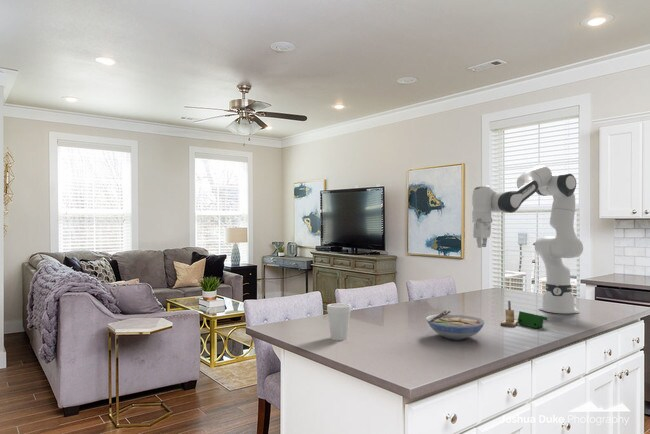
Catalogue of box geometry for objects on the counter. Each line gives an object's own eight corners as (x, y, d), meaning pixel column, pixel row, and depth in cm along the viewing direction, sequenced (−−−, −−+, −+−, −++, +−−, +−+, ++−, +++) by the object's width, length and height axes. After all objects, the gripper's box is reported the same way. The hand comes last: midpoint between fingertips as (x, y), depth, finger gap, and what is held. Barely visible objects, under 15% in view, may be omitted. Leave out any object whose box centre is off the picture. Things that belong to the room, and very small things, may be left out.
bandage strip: (506, 320, 217) (505, 317, 217) (519, 321, 214) (519, 319, 214) (500, 325, 206) (500, 322, 206) (514, 327, 203) (514, 324, 203)
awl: (506, 320, 212) (506, 300, 213) (515, 320, 210) (514, 300, 210) (504, 321, 209) (504, 301, 210) (513, 321, 207) (512, 301, 208)
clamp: (541, 337, 203) (552, 320, 200) (531, 335, 201) (541, 317, 198) (524, 321, 213) (533, 305, 211) (514, 319, 211) (524, 302, 209)
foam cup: (322, 337, 184) (322, 304, 185) (342, 334, 189) (342, 302, 189) (334, 342, 176) (334, 308, 176) (355, 339, 181) (355, 306, 181)
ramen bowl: (476, 349, 167) (476, 326, 167) (416, 340, 179) (416, 319, 179) (492, 335, 188) (491, 315, 188) (437, 328, 200) (437, 309, 200)
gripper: (483, 218, 214) (483, 248, 214) (492, 219, 232) (493, 246, 231) (469, 218, 217) (469, 248, 217) (480, 219, 235) (480, 246, 235)
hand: (482, 247), depth 224 cm, fingers open, 8 cm apart
